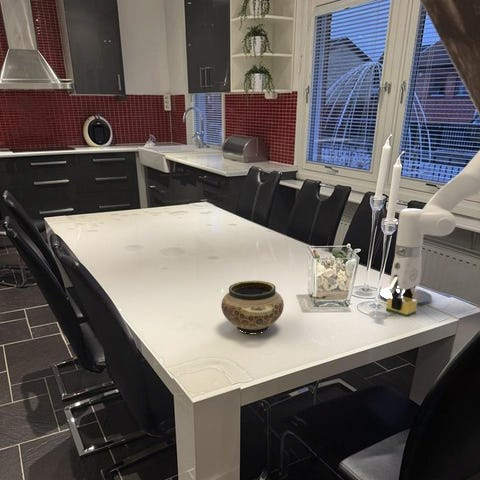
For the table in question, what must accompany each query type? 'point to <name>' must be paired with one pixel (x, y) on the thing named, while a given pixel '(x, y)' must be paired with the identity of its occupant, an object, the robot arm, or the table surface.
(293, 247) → the table surface
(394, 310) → the sponge
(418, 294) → the plate
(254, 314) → the ceramic bowl
